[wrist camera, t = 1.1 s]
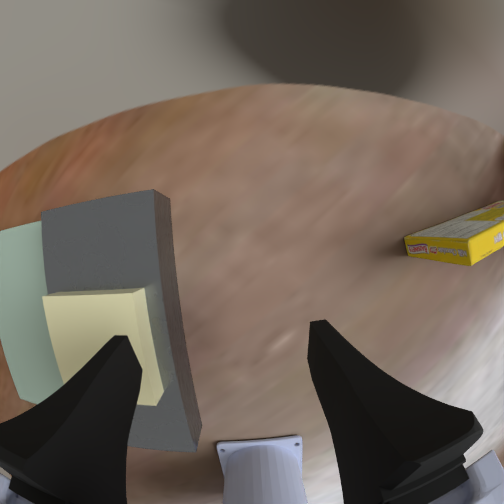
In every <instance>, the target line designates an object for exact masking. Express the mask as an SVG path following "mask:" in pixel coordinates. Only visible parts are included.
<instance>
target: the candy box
mask: <svg viewBox="0 0 504 504" xmlns="http://www.w3.org/2000/svg"><path fill="white" fill-rule="evenodd" d="M404 241H405V245H406V249H407V253H408V256H411V257H417V258H424V259H429V260H435V261H440V262H447V263H453V264H459V265H466V266H472V265H473V264H475V263H476V262H478V261H480V260H481V259H483V258H485V257H486V256H488V255H490V254H491V253H493V252H495V251H496V250H498V249H500V248H501V247H503V246H504V201H498V202H495V203H493V204H490V205H488V206H485V207H483V208H480V209H477V210H475V211H472V212H469V213H467V214H464V215H462V216H459V217H456V218H454V219H451V220H449V221H446V222H443V223H441V224H438V225H436V226H433V227H430V228H427V229H424V230H421V231H419V232H416V233H413V234H410V235H408V236H406V237H404Z"/></svg>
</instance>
